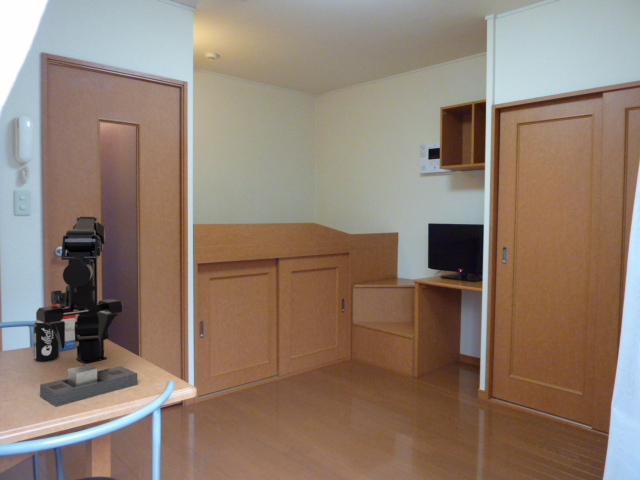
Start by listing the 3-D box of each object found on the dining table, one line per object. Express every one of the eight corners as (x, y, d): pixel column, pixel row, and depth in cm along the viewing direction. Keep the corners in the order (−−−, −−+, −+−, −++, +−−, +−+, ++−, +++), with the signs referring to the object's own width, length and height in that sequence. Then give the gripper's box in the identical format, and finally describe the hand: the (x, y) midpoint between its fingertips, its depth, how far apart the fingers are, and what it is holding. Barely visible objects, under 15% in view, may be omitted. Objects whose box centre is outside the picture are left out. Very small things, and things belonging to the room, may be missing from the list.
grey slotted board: (120, 376, 132) (120, 365, 132) (137, 384, 126) (137, 373, 126) (40, 396, 117) (40, 384, 117) (55, 406, 111) (55, 393, 111)
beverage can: (63, 357, 149) (63, 318, 148) (45, 363, 143) (44, 323, 142) (47, 355, 151) (47, 317, 151) (28, 361, 145) (28, 321, 144)
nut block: (88, 387, 123) (88, 364, 123) (97, 392, 120) (97, 368, 120) (67, 393, 120) (67, 369, 119) (76, 398, 116) (76, 373, 116)
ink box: (76, 348, 159) (76, 304, 158) (60, 351, 156) (60, 306, 155) (66, 343, 165) (66, 300, 164) (51, 346, 161) (50, 302, 161)
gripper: (103, 275, 131) (103, 332, 132) (27, 282, 117) (27, 346, 118) (124, 279, 124) (124, 340, 125) (45, 287, 110) (46, 355, 111)
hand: (81, 344), depth 120 cm, fingers open, 9 cm apart
